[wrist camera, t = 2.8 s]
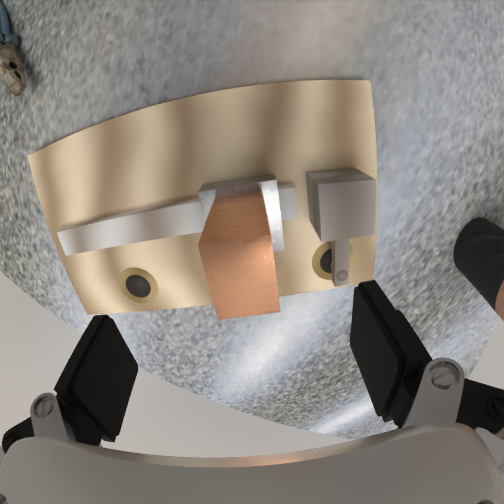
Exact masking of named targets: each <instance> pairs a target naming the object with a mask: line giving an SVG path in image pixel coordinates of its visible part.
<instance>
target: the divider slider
mask: <svg viewBox="0 0 504 504" xmlns="http://www.w3.org/2000/svg"><path fill="white" fill-rule="evenodd" d="M198 193H199V198H200V203H201V207H202V212H203V216H204V221H205V226H204V229H203V231H202V234H201V237H200V240H199V243H198V248H199V252H200V256H201V260H202V264H203V268H204V271H205V275H206V279H207V283H208V286H209V290H210V293H211V297H212V301H213V304H214V308H215V311H216V315H217V318H218V319H227V318H236V317H245V316H253V315H261V314H269V313H276V312H280V305H279V296H278V287H277V279H276V271H275V262H274V254H273V252H276V251H284V250H285V248H284V239H283V229H282V220H281V211H280V203H279V194H278V186H277V179H276V177H275V175H274V173H273V174H265V175H258V176H251V177H244V178H237V179H231V180H225V181H219V182H213V183H207V184H203V185H202V186H201V188H200V190H199V191H198Z"/></svg>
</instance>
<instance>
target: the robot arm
mask: <svg viewBox="0 0 504 504" xmlns="http://www.w3.org/2000/svg"><path fill="white" fill-rule="evenodd" d="M350 346H351V349H352V352H353V354H354V357H355V359H356V362H357V364H358V367H359V369H360V372H361V374H362V377H363V379H364V382H365V385H366V387H367V390H368V393H369V395H370V398H371V401H372V403H373V406H374V409H375V412H376V414H377V416H382V418H383V421H384V423H385V422H388V421H391V420H393V421H394V423H395V425H397V428H396V429H395V430H391V431H388V432H384V433H380V434H376V435H372V436H369V437H365V438H361V439H357V440H353V441H349V442H344V443H340V444H335V445H330V446H325V447H320V448H315V449H309V450H303V451H296V452H289V453H281V454H272V455H263V456H249V457H227V458H194V457H193V458H192V457H173V456H159V455H149V454H140V453H133V452H126V451H120V450H114V449H108V448H103V447H102V445H101V443H100V442H101V439H103V440H104V441H109V442H115V439H116V436H118V435H119V433H120V430H121V426H122V422H123V418H124V415H125V412H126V408H127V405H128V402H129V398H130V395H131V392H132V388H133V385H134V382H135V379H136V376H137V373H138V364H137V362H136V360H135V359H134V357H133V355H132V353H131V352H130V350H129V348H128V346H127V345H126V343H125V341H124V339H123V337H122V335H121V333H120V332H119V330H118V328H117V326H116V324H115V322H114V320H113V319H112V318H110V317H109V316H108V315H96V316H94V317H93V318H92V320H91V322H90V323H89V325H88V327H87V328H86V330H85V332H84V333H83V335H82V337H81V339H80V340H79V342H78V344H77V346H76V347H75V349H74V351H73V353H72V355H71V357H70V359H69V360H68V362H67V364H66V366H65V368H64V370H63V372H62V374H61V376H60V378H59V380H58V382H57V384H56V386H55V388H54V390H55V391H56V392H57V395H56V396H55V395H53V394H52V393H43V394H41V395H39V396H38V397H37V398H36V399H35V400H34V401H33V403H32V405H31V409H30V412H31V413H30V414H31V417H29V418H28V419H26V420H24V421H23V422H21V423H19V424H18V425H16V426H14V427H12V428H11V429H9V430H8V431H7V432H6V433H5V434H4V436H3V441H2V447H1V446H0V504H504V390H503V389H499V388H495V387H492V386H489V385H485V384H482V383H479V382H475V381H472V380H469V379H466V378H464V371H463V369H462V367H461V366H460V365H459V364H458V363H457V362H456V361H454V360H452V359H449V358H436V359H434V360H432V358H431V356H430V355H429V353H428V352H427V350H426V348H425V347H424V345H423V344H422V342H421V341H420V339H419V337H418V336H417V334H416V333H415V331H414V330H413V328H412V327H411V325H410V324H409V322H408V321H407V319H406V318H405V316H404V315H403V313H402V312H401V311H399V310H395V308H394V307H393V305H392V304H391V302H390V301H389V299H388V298H387V296H386V295H385V294H384V292H383V291H382V289H381V288H380V287H379V285H378V284H377V282H376V281H375V280H370V281H364V282H360V283H359V285H358V287H355V289H354V299H353V312H352V323H351V333H350Z"/></svg>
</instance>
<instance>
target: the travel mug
mask: <svg viewBox="0 0 504 504" xmlns="http://www.w3.org/2000/svg"><path fill="white" fill-rule="evenodd" d="M454 261H455V264H456V266H457V268H458V269H459V270H460V271H461V272H462V274H463V275H464V276H465V277H466V278H467V279H468V280H469V281H470V282H471V283H472V285H473V286H474V287H475V288H476V289H477V290H478V291H479V293H480V294H481V295H482V296H483V297H484V298H485V300H486V301H487V302H488V303H489V304H490V306H491V307H492V308H493V309H494V310H495V312H496V313H497V314H498V315H499V316H500V317H501V319H502V320H503V321H504V230H503V229H502V228H500V227H498V226H497V225H495V224H494V223H492V222H490V221H488V220H487V219H484V218H476V219H474V220H472V221H471V222H469V223H468V224H467V225H466V226H465V228H464V229H463V230H462V232H461V233H460V235H459V237H458V239H457V242H456V245H455V249H454Z"/></svg>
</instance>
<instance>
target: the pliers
mask: <svg viewBox="0 0 504 504" xmlns="http://www.w3.org/2000/svg"><path fill="white" fill-rule="evenodd" d="M9 31H10V30H9V22H8V17H7V13H6V10H5V8H4V6H3V4H2V3H1V1H0V79H1V80H2V81H3V82H4V84H5V85H6V86H7V87H8V88H9V90H10V91H11V92H12V93H13V94H14V95H15V96H18V95H19V96H20V95H21V94H22V93H23V91H24V90H25V88H26V87H27V85H26V79H25V74H24V68H23V65H22V63H21V61H20V59H19V57H18V56H17V55H16V53H15V48H16V47H17V45H18V42H19V41H18V38H17V37H16V36H14V35H11V34H10V33H9Z"/></svg>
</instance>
